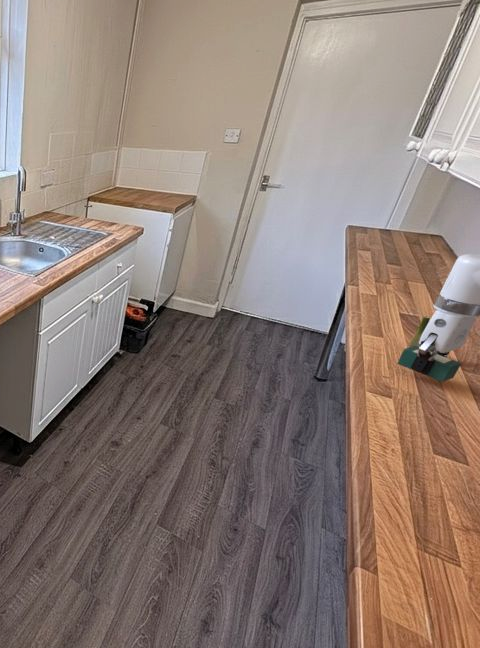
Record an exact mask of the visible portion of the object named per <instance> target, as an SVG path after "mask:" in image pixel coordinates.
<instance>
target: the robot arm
mask: <svg viewBox="0 0 480 648" xmlns="http://www.w3.org/2000/svg"><path fill="white" fill-rule="evenodd" d="M433 308H434V309H435V311H434V313H433V315H432V316H431V317H430V319H429V322H428V324H427V326H426V328H425V330H424V332H423V334H422V336H421V338H420V340H419V344H420V345H421V346H420V348H419V349H418V350H419V352H418V354H417V356H416V358H415V360H414V362H413V364H412V366H411V369H413V370H412V371H414V370H415V371H414V372H416V371H417V373H419V372H420V374H421V373H422V374H421V375H424V374H425V375H424V376H426V374H428V373H429V371H430V369H431V367H432V365H433V364H434V362H435V361H433V359H434V358H435V357H436V355H437V354H439V355H442V356H444V357H447V358H448V356H449V354H450V353H451V352H452V351H455V350H458V349H460V348H462V347H463V346H464V344H465V342H466V340H467V339H468V336H469V334H470V332H471V330H472V329H473V326H474V323H475V321H476V319H477V318H479V317H480V254H479V253H466V254H461V255H460V256H458V257H457V258H456V260H455V261H454V264H453V266H452V268H451V270H450V272H449V273H448V275H447V278H446V280H445V282H444V283H443V286H442V288H441V290H440V292H439V293H438V296H437V298H436V300H435V302H434V304H433ZM431 346H433V348H432V347H431ZM429 350H432V351H431V352H433V353H432V354H431V352H429ZM411 369H410V370H411Z"/></svg>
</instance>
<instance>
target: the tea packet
mask: <svg viewBox="0 0 480 648" xmlns="http://www.w3.org/2000/svg"><path fill="white" fill-rule="evenodd" d="M419 348H420V347H417V346H412V347H409V346H408V347H406V348H404V349H403V351H402V352H401V355H400V356H399V359H398V361H397V363H396V364H397V365H400V366H402V367H404V368H407V369H409V370H412V371H414V372H417V371H415V370H413V369H411V366H412V364H413V362H414V360H415V358H416V356H417V354H418V352H419V350H418V349H419ZM429 352H431V351H429ZM432 353H433V352H431V354H432ZM444 356H445V355H444ZM444 356H442V355H439V354H437V355H436V357H435V358H434V359H433V361H435V362H434V364H433V365H432V367H431V369H430V371H429V373H428V374H426V375H425V374H422V373H420V372H417V373H420V374H421V375H424V376H427V377H429V378H431V379H434V380H435V381H438V382H441V383H444V382H447V381H449V380H452V379H454V378H455V376H456V375H457V373H458V370H459V369H460V367H461V365H462V362H461V361H458V360H455V359H453V358H450V357H448V356H447V357H444Z"/></svg>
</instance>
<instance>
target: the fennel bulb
mask: <svg viewBox="0 0 480 648" xmlns="http://www.w3.org/2000/svg"><path fill="white" fill-rule="evenodd" d="M430 319H431V317H429V316H428V315H424V316H423V317H422V319H421V322H420V324H419V326H418V328H417V330H416V331H415V333H414V334H413V336H412V338H411V340H410V342H409V346H408V348H409V347H412V346H417V347H420V346H421V345H420V344H419V340H420V338H421V336H422V334H423V332H424V330H425V328H426V326H427V324H428V323H429V321H430ZM431 347H432V348H433V346H431ZM429 351H432V350H429Z"/></svg>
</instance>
